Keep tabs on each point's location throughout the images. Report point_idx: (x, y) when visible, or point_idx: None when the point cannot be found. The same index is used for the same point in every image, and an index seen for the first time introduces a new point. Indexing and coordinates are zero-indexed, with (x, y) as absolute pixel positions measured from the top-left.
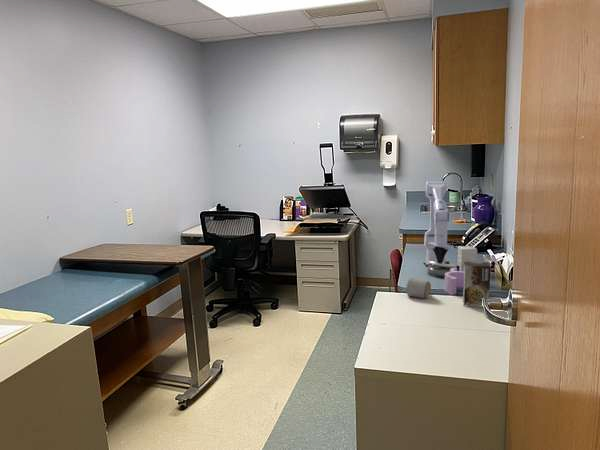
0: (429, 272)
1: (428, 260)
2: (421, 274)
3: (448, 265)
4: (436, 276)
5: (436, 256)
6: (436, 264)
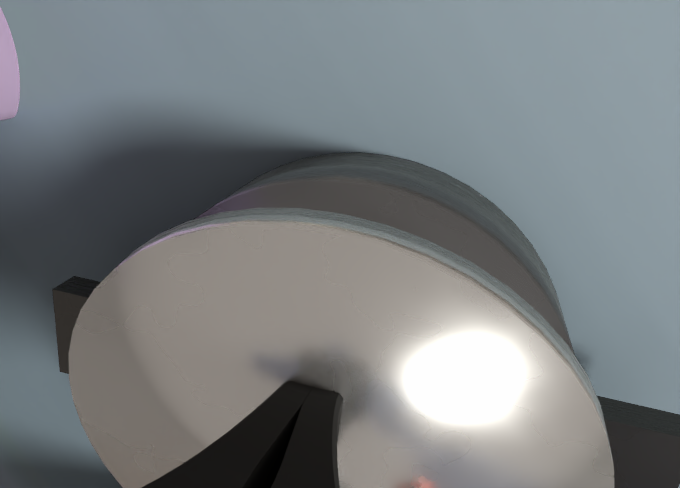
0: (447, 188)
1: (609, 456)
2: (590, 135)
3: (76, 324)
4: (306, 159)
5: (317, 478)
6: (230, 215)
